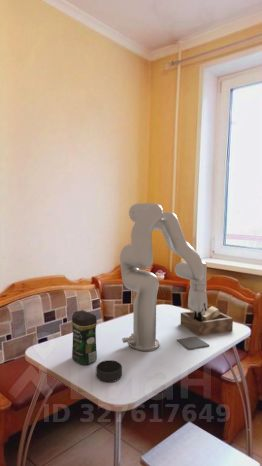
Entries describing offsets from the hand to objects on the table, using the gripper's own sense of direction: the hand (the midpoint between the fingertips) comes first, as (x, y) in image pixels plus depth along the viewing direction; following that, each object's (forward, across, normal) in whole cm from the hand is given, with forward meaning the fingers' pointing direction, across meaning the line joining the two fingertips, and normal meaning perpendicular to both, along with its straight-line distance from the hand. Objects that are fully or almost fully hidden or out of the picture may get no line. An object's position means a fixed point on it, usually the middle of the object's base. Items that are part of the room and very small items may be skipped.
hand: (197, 324), depth 158 cm
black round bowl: (+2, +27, -54) cm, 60 cm away
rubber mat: (+2, +14, -12) cm, 19 cm away
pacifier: (+3, -14, +5) cm, 15 cm away
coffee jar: (+2, +12, -59) cm, 60 cm away
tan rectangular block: (-3, 0, +7) cm, 8 cm away
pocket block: (+2, 0, +5) cm, 5 cm away
